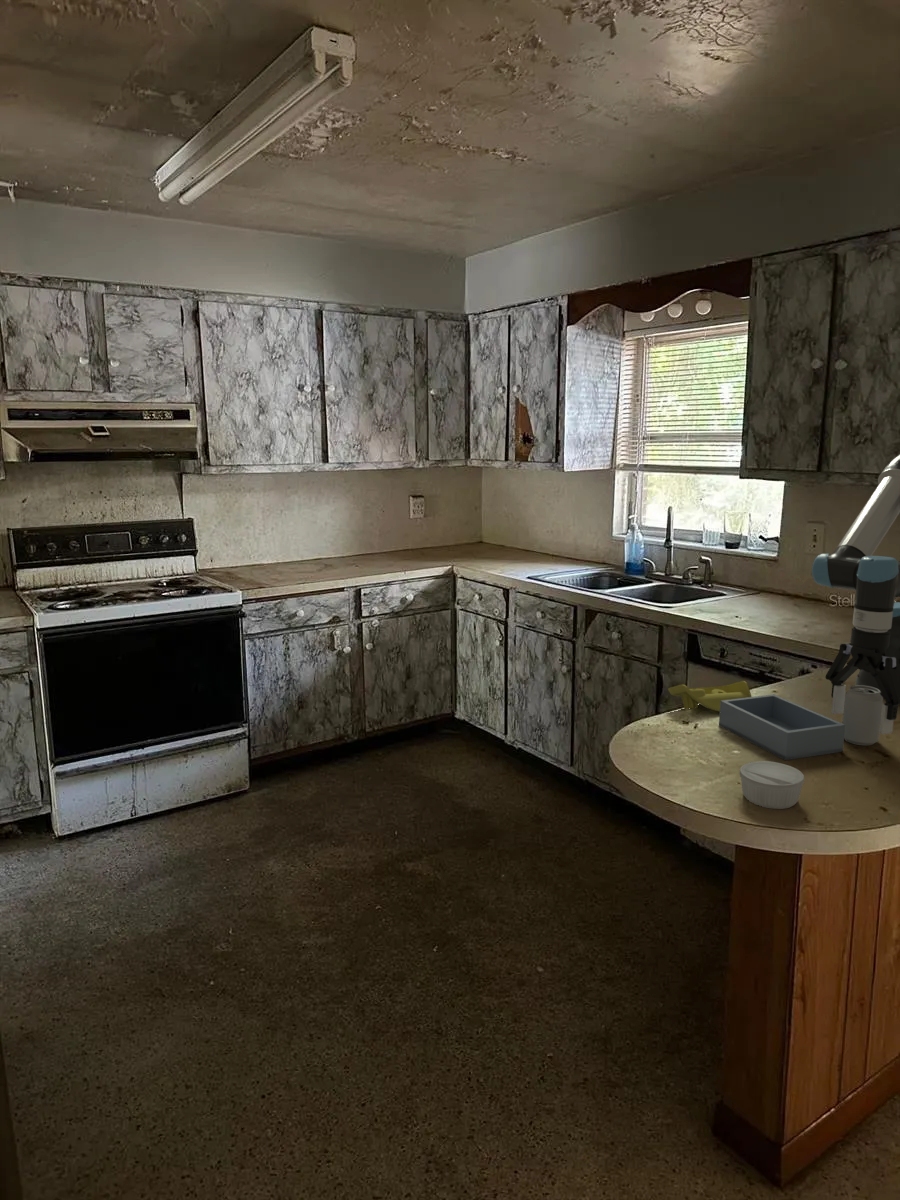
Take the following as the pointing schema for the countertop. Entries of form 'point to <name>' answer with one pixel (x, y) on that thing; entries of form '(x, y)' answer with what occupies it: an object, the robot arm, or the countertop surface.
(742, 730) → the bin
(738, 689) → the plastic component
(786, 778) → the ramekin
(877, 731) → the can
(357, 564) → the countertop surface
